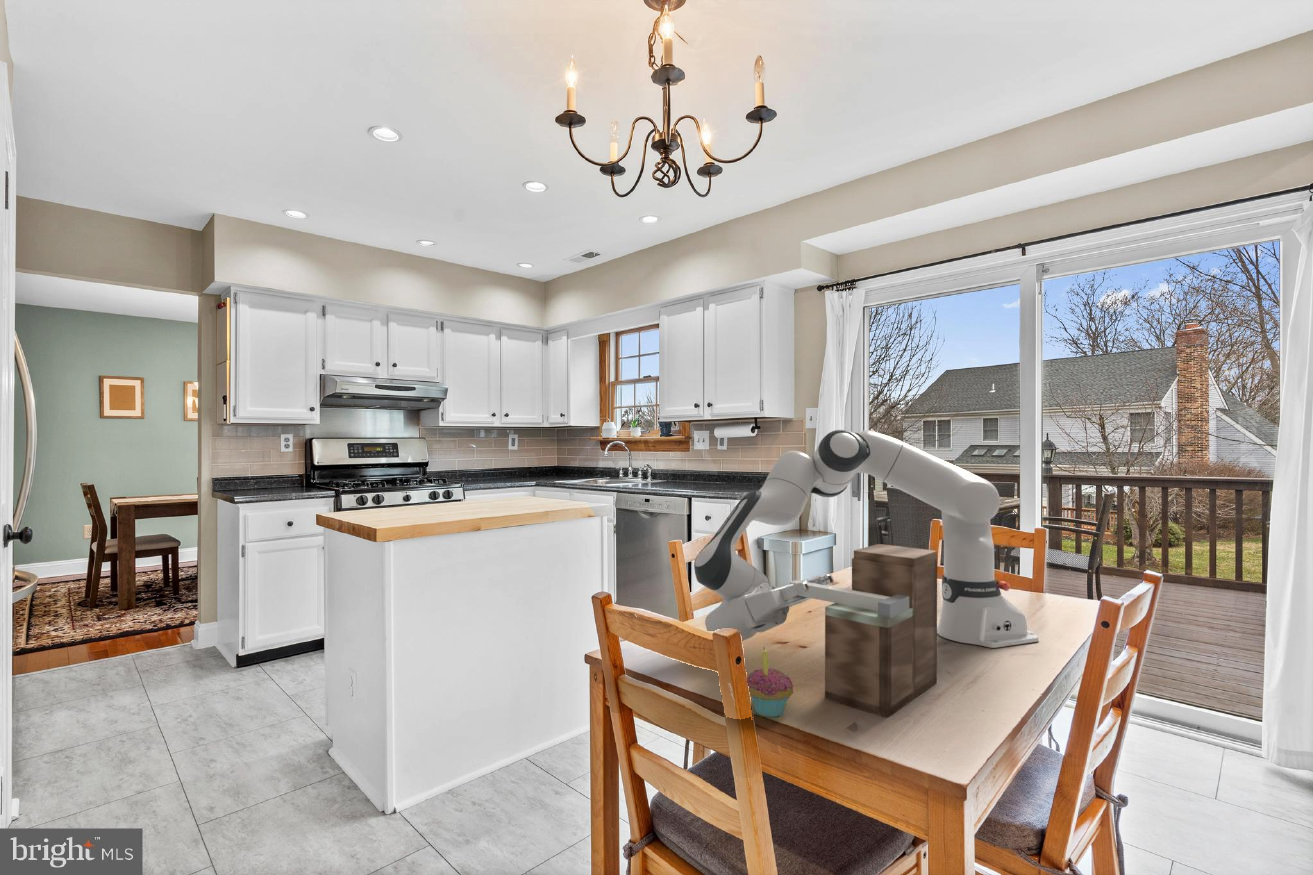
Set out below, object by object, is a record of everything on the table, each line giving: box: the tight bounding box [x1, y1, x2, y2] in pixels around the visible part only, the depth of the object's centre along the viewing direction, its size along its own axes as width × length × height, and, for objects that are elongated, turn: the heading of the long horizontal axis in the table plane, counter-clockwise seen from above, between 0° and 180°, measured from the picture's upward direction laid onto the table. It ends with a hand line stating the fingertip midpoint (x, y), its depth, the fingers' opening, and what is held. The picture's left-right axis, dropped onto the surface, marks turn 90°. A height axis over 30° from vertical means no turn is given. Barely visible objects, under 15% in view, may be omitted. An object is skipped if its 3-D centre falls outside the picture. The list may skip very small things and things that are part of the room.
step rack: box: [824, 543, 938, 719], centre depth 126 cm, size 12×22×26 cm, turn 136°
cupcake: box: [746, 646, 795, 718], centre depth 117 cm, size 9×8×12 cm
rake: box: [789, 579, 909, 618], centre depth 125 cm, size 22×8×2 cm, turn 46°
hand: (818, 581), depth 129 cm, fingers open, 8 cm apart
